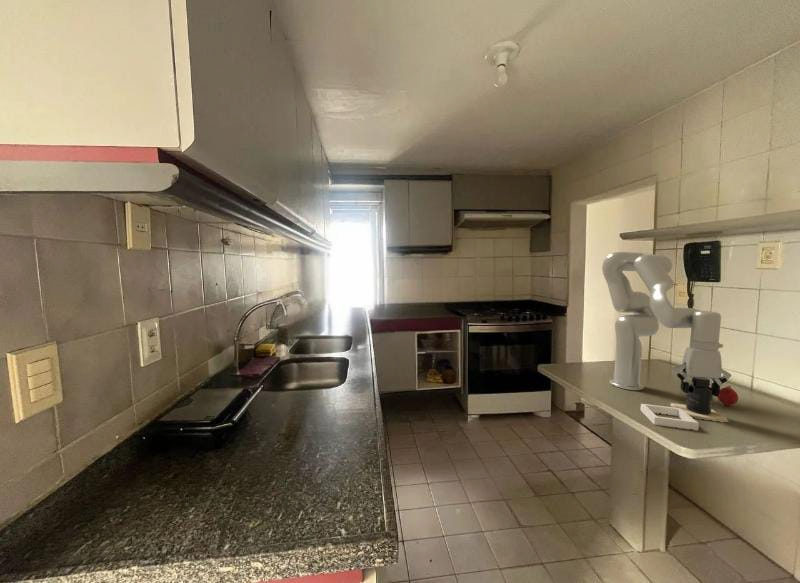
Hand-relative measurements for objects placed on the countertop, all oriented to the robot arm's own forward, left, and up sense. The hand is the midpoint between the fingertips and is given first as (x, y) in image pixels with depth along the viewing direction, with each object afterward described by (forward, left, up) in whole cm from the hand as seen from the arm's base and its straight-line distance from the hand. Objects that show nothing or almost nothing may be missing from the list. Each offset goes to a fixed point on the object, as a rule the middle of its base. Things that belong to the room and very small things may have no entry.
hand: (699, 393), depth 121 cm
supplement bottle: (0, 0, -7) cm, 7 cm away
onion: (-13, +15, -8) cm, 21 cm away
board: (0, 0, -8) cm, 8 cm away
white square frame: (+10, -13, -8) cm, 18 cm away
